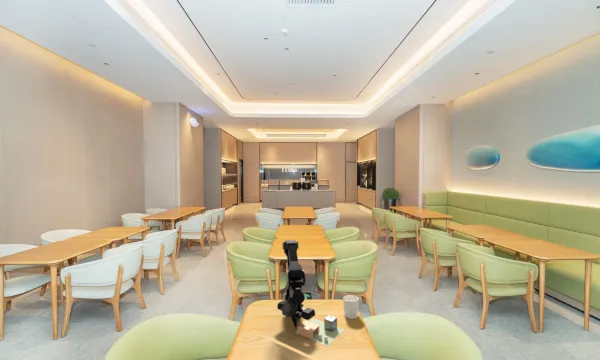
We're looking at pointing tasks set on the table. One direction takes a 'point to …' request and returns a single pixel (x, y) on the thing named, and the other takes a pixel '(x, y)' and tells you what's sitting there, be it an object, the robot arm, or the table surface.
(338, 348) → the table surface
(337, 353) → the table surface
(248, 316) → the table surface
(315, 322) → the board
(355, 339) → the table surface
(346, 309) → the white cup
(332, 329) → the gray metal block
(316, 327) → the cover
